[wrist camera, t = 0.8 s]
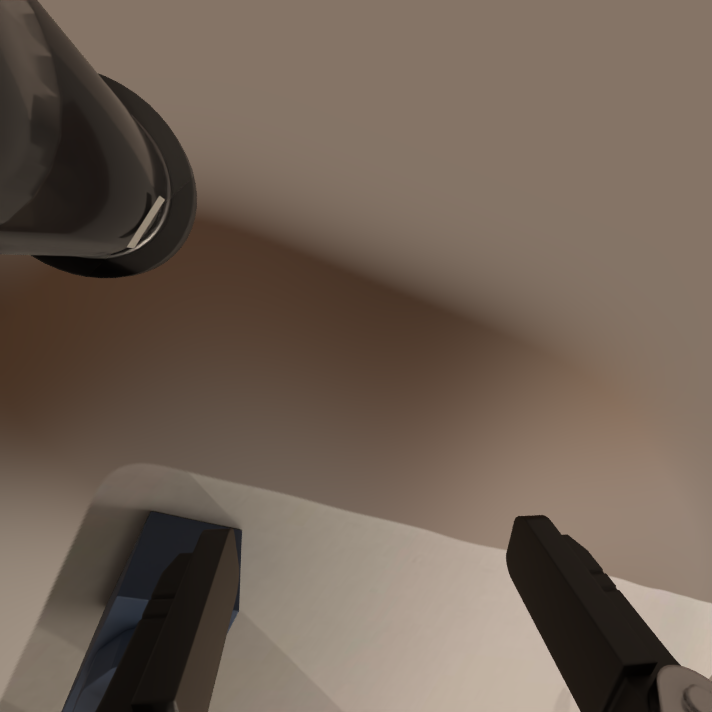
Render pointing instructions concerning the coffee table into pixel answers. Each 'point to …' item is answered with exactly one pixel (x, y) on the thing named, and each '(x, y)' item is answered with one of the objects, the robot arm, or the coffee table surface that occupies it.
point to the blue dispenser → (135, 602)
